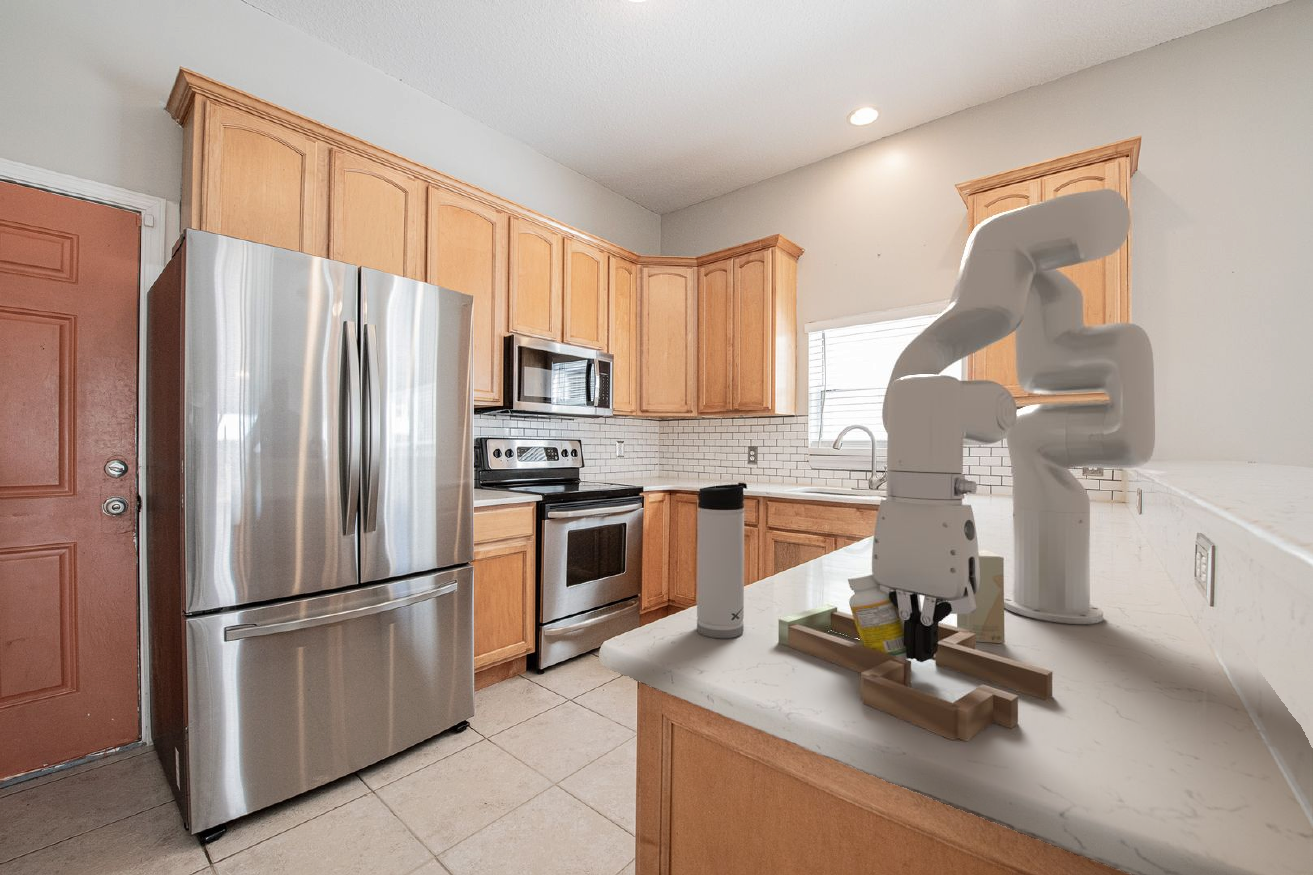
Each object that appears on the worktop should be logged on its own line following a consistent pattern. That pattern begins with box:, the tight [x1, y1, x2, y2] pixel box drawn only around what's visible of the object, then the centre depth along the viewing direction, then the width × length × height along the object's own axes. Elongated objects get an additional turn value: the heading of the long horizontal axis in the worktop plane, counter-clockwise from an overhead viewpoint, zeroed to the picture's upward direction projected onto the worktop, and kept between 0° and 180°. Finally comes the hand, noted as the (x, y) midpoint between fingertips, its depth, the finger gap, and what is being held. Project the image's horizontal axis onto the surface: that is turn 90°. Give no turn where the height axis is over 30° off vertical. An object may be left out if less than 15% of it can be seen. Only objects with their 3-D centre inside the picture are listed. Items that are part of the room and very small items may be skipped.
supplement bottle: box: [847, 571, 909, 660], centre depth 64 cm, size 5×5×10 cm
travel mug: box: [696, 482, 748, 640], centre depth 75 cm, size 6×7×20 cm
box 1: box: [778, 604, 1053, 742], centre depth 63 cm, size 23×26×3 cm
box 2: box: [956, 549, 1006, 644], centre depth 73 cm, size 5×4×11 cm
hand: (920, 657), depth 60 cm, fingers closed
